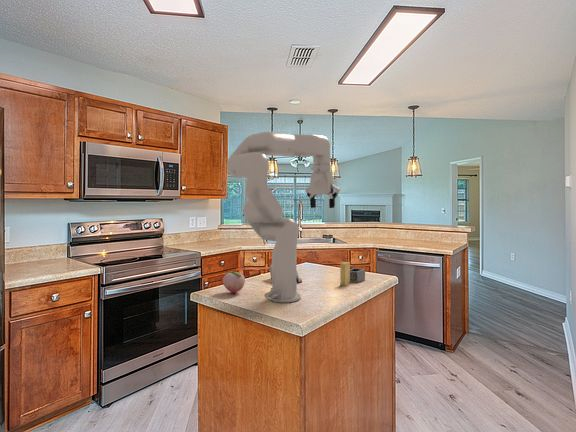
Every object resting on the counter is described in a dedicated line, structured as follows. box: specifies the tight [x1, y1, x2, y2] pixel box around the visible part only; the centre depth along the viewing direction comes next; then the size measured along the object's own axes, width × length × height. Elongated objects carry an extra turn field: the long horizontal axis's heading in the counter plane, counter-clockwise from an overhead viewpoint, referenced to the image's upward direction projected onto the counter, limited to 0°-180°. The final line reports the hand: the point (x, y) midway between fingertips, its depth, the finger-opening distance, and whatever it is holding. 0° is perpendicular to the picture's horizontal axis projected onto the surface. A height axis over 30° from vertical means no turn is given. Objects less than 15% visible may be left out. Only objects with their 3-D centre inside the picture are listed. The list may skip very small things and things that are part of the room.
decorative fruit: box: [222, 268, 246, 294], centre depth 140 cm, size 9×8×10 cm
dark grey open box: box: [350, 267, 366, 284], centre depth 160 cm, size 8×6×5 cm
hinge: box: [268, 264, 303, 283], centre depth 160 cm, size 17×5×10 cm, turn 45°
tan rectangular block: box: [339, 261, 351, 287], centre depth 152 cm, size 4×2×10 cm, turn 141°
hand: (322, 207), depth 150 cm, fingers open, 9 cm apart
